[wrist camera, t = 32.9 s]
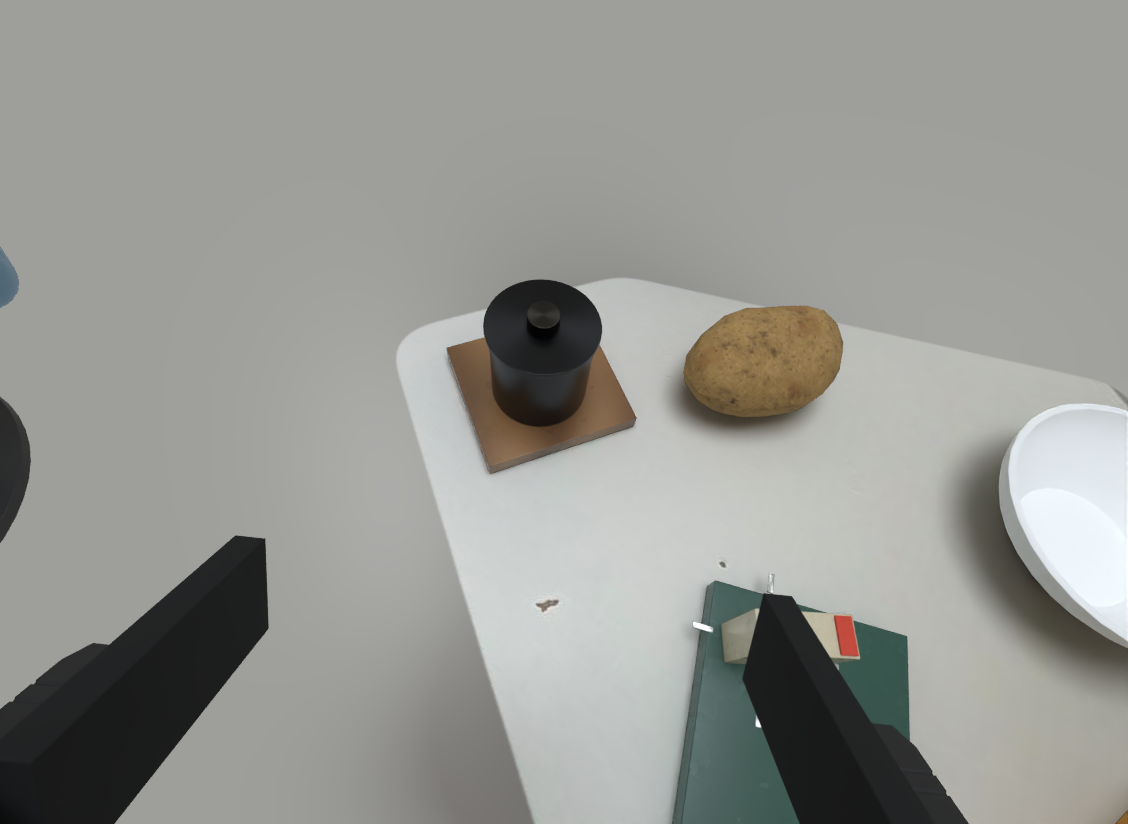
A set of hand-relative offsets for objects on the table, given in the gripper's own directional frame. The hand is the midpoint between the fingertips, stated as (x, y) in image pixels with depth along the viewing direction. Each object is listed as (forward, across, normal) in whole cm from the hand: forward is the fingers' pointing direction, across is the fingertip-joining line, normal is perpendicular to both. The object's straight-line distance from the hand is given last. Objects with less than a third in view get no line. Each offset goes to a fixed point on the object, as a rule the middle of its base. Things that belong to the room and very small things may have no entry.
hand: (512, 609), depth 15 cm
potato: (+38, +17, -1) cm, 42 cm away
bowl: (+29, +44, -10) cm, 54 cm away
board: (+36, -1, -3) cm, 36 cm away
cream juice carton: (+20, +17, -15) cm, 31 cm away
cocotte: (+34, -1, -2) cm, 34 cm away
